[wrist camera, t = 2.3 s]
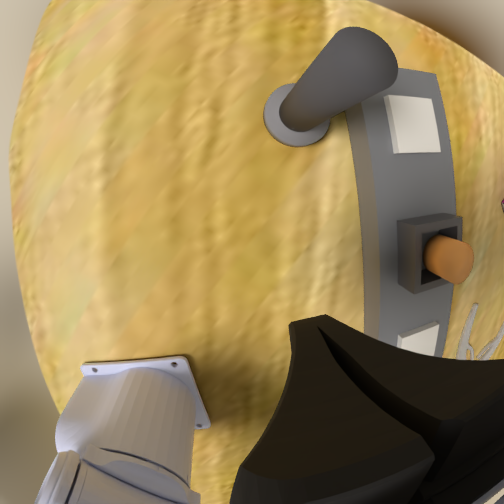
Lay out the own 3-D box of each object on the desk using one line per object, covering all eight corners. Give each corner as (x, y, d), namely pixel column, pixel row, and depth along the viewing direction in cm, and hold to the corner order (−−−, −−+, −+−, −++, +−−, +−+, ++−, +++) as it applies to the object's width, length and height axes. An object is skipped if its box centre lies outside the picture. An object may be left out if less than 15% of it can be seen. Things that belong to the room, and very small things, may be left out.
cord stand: (269, 150, 17) (320, 116, 7) (258, 90, 16) (292, 4, 6) (329, 143, 17) (427, 116, 7) (318, 86, 16) (398, 17, 6)
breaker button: (422, 275, 15) (445, 288, 13) (422, 237, 15) (448, 247, 12) (448, 267, 15) (471, 279, 13) (449, 231, 15) (474, 239, 13)
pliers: (520, 306, 21) (472, 408, 25) (511, 301, 23) (466, 401, 26) (480, 307, 20) (423, 424, 24) (470, 301, 22) (417, 416, 25)
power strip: (361, 380, 22) (382, 413, 18) (337, 75, 16) (365, 51, 12) (425, 356, 22) (450, 382, 18) (416, 81, 16) (453, 67, 12)
